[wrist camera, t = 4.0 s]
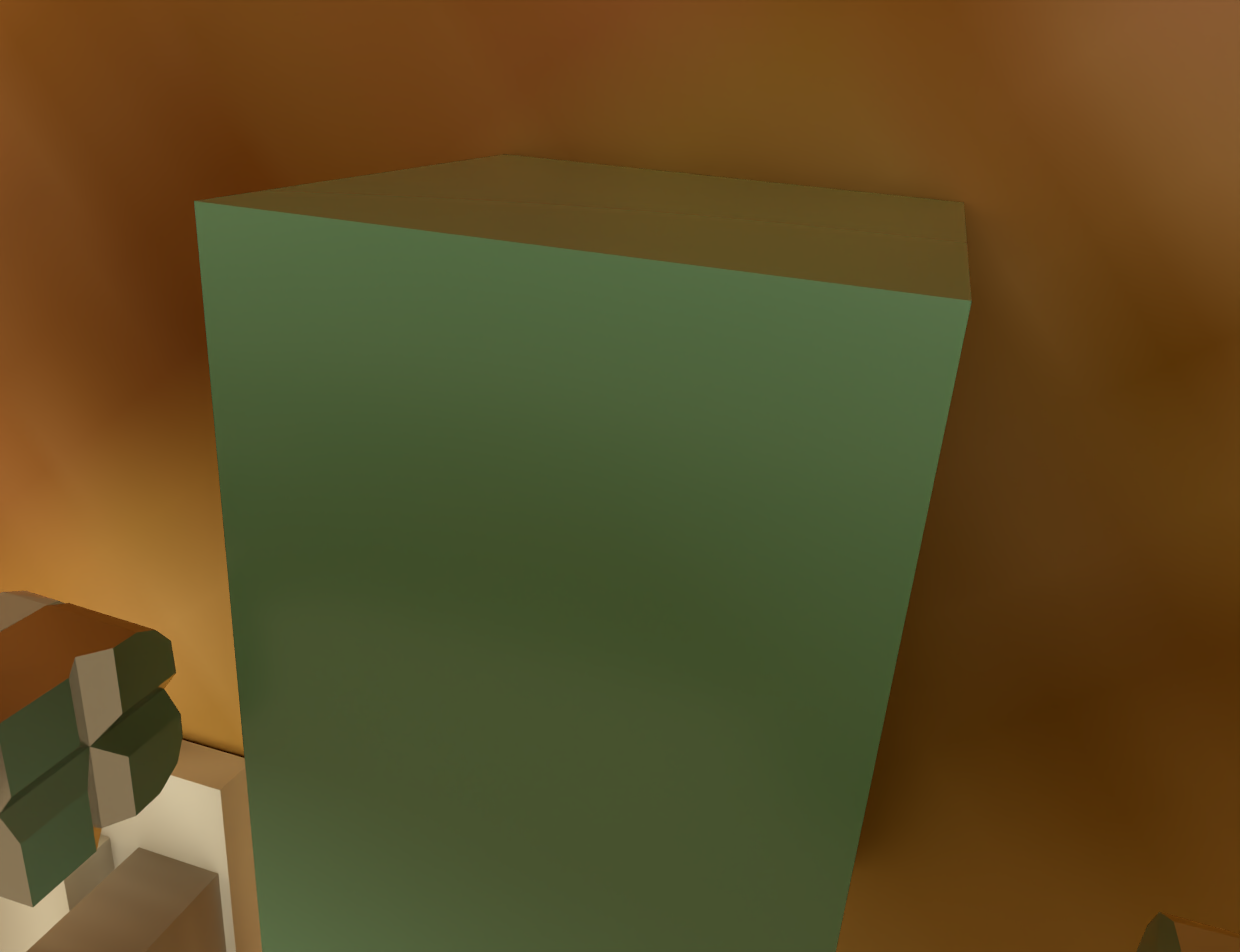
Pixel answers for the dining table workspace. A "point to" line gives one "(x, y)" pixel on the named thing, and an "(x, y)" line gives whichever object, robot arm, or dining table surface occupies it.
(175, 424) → the dining table surface
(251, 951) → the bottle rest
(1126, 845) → the dining table surface
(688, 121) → the dining table surface
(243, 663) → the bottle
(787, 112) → the dining table surface
